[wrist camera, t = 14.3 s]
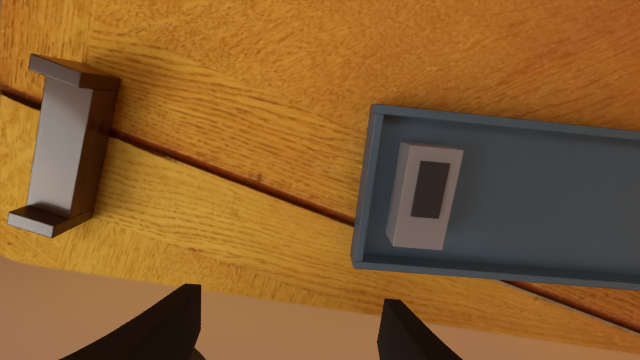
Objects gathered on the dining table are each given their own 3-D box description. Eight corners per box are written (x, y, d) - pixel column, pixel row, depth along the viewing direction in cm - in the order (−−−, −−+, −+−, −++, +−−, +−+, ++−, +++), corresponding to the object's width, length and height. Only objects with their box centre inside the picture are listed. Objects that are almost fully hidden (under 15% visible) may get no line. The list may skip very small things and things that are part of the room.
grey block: (429, 236, 19) (443, 252, 17) (384, 232, 19) (393, 248, 17) (448, 145, 18) (466, 150, 16) (399, 140, 18) (411, 145, 16)
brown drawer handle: (92, 218, 19) (52, 239, 16) (53, 206, 19) (6, 224, 16) (121, 77, 17) (81, 72, 14) (78, 62, 17) (29, 52, 14)
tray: (707, 283, 21) (740, 298, 20) (350, 255, 20) (353, 268, 18) (772, 145, 19) (815, 149, 17) (370, 104, 18) (376, 104, 16)
